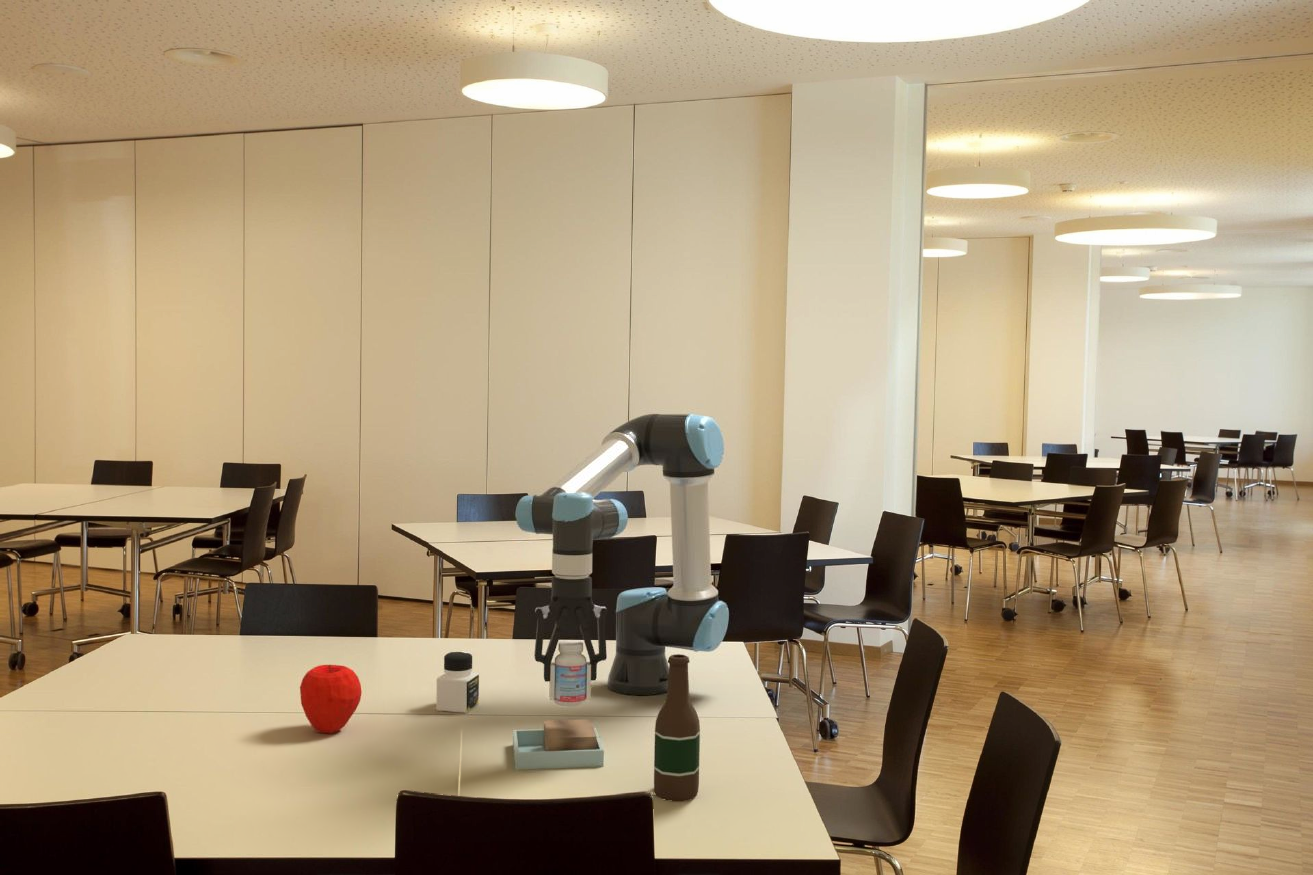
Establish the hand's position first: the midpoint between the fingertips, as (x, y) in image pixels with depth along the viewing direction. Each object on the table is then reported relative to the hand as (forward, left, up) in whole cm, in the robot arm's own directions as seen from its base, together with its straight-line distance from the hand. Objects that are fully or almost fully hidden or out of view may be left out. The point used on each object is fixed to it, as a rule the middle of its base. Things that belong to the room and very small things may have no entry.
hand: (569, 697), depth 207 cm
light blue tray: (+2, 0, -11) cm, 12 cm away
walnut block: (0, 0, -11) cm, 11 cm away
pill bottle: (0, 0, -1) cm, 1 cm away
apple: (+46, -22, -12) cm, 53 cm away
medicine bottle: (+21, -36, -12) cm, 43 cm away
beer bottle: (-17, +21, -12) cm, 29 cm away
